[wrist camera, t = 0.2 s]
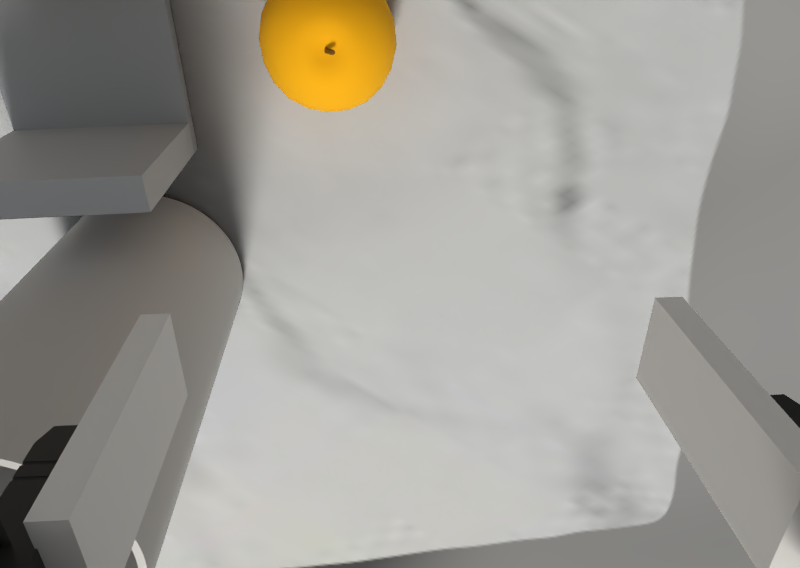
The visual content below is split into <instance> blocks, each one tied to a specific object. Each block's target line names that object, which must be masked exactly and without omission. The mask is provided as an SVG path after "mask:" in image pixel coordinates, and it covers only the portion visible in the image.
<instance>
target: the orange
mask: <svg viewBox="0 0 800 568" xmlns="http://www.w3.org/2000/svg"><path fill="white" fill-rule="evenodd" d="M259 42H260V47H261V51H262V56H263V61H264V64H265V66H266V68H267V70H268V72H269V74H270V76H271V78H272V80H273V81H274V83H275V84H276V85H277V86H278V87H279V88H280V89H281V90H282V91H283V93H284V94H285V95H286V96H287V97H288V98H289V99H291V100H293V101H295V102H297V103H299V104H301V105H303V106H305V107H307V108H309V109H315V110H320V111H325V112H333V111H342V110H349V109H351V108H353V107H356V106H358V105H360V104H363V103H365V102H367V101H368V100H369V99H370V98H371V97H372V96H373V95H374V94H375V93H376V92H377V91H378V90H379V89H380V88H381V87H382V85H383V83H384V81H385V80H386V78H387V76H388V74H389V72H390V70H391V67H392V63H393V58H394V54H395V49H396V35H395V25H394V19H393V16H392V14H391V11H390V9H389V6H388V4H387V1H386V0H267V2H266V4H265V6H264V9H263V11H262V15H261V24H260V33H259Z"/></svg>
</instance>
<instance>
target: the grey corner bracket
mask: <svg viewBox="0 0 800 568" xmlns="http://www.w3.org/2000/svg"><path fill="white" fill-rule="evenodd" d="M0 90H1V93H2V96H3V99H4V102H5V105H6V108H7V111H8V114H9V117H10V120H11V123H12V126H13V129H14V131H12V132H10V133H9V134H7V135H5V136H3V137H2V138H0V219H19V218H40V217H61V216H82V215H103V214H124V213H145V212H151V211H152V210H153V208H154V207H155V206H156V204H157V203H158V202H159V200H160V199H161V198H162V196H163V195H164V194H165V192H166V191H167V190H168V188H169V187H170V185H171V184H172V183H173V181H174V180H175V179H176V177H177V176H178V175H179V173H180V172H181V171H182V169H183V168H184V167H185V165H186V164H187V163H188V161H189V160H190V159H191V157H192V156H193V155H194V153H195V152H196V150H197V149H198V147H197V142H196V137H195V132H194V126H193V121H192V116H191V111H190V106H189V100H188V95H187V90H186V85H185V79H184V74H183V69H182V64H181V58H180V53H179V48H178V43H177V37H176V32H175V27H174V22H173V16H172V11H171V6H170V1H169V0H0Z"/></svg>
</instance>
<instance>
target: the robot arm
mask: <svg viewBox="0 0 800 568" xmlns="http://www.w3.org/2000/svg"><path fill="white" fill-rule="evenodd" d="M636 378H637V379H638V381H639V383H640V384H641V386H642V387H643V389H644V390H645V392H646V394H647V395H648V397H649V398H650V400H651V402H652V403H653V405H654V406H655V408H656V410H657V411H658V413H659V414H660V416H661V417H662V419H663V421H664V422H665V424H666V425H667V427H668V429H669V430H670V432H671V433H672V435H673V437H674V438H675V440H676V441H677V443H678V444H679V446H680V448H681V449H682V451H683V452H684V454H685V455H686V457H687V459H688V460H689V462H690V464H691V465H692V466H693V468H694V470H695V471H696V473H697V475H698V476H699V477H700V479H701V481H702V483H703V484H704V486H705V487H706V489H707V490H708V492H709V494H710V495H711V497H712V498H713V500H714V502H715V503H716V505H717V506H718V508H719V510H720V511H721V513H722V514H723V516H724V518H725V519H726V521H727V522H728V524H729V525H730V527H731V529H732V530H733V531H734V533H735V535H736V537H737V538H738V540H739V541H740V543H741V545H742V546H743V547H744V549H745V551H746V553H747V554H748V556H749V557H750V559H751V560H752V562H753V564H754V565H755V567H756V568H800V404H798V403H797V402H795V401H793V400H792V399H790V398H789V397H787V396H785V395H784V394H782V395H769V394H768V392H767V391H766V390H765V389H764V388H763V387H762V386H761V385H760V384H759V382H758V381H757V380H756V379H755V378H754V377H753V376H752V374H751V373H750V372H749V371H748V370H747V369H746V368H745V367H744V366H743V365H742V363H741V362H740V361H739V360H738V359H737V358H736V357H735V356H734V354H733V353H732V352H731V351H730V350H729V349H728V348H727V347H726V345H725V344H724V343H723V342H722V341H721V340H720V339H719V338H718V336H717V335H716V334H715V333H714V332H713V331H712V330H711V329H710V328H709V327H708V325H707V324H706V323H705V322H704V321H703V320H702V319H701V318H700V316H699V315H698V314H697V313H696V312H695V311H694V310H693V308H692V307H691V306H690V305H689V304H688V303H687V302H686V301H685V300H684V298H683V297H666V298H655V300H654V305H653V309H652V313H651V317H650V322H649V326H648V330H647V334H646V339H645V343H644V347H643V351H642V356H641V360H640V364H639V368H638V373H637V377H636ZM187 396H188V394H187V389H186V385H185V380H184V375H183V371H182V366H181V362H180V357H179V352H178V348H177V343H176V338H175V334H174V329H173V325H172V320H171V315H170V314H141V315H140V316H139V318H138V320H137V322H136V323H135V325H134V327H133V329H132V331H131V332H130V334H129V336H128V338H127V339H126V341H125V343H124V345H123V346H122V348H121V350H120V352H119V353H118V355H117V357H116V359H115V361H114V362H113V364H112V366H111V368H110V369H109V371H108V373H107V375H106V376H105V378H104V380H103V382H102V384H101V385H100V387H99V389H98V391H97V392H96V394H95V396H94V398H93V399H92V401H91V403H90V405H89V406H88V408H87V410H86V412H85V414H84V415H83V417H82V419H81V421H80V422H79V424H78V425H65V426H54V427H52V428H51V429H50V430H49V431H48V432H47V433H45V434H44V435H43V436H42V437H41V438H40V439H38V440H37V441H36V442H35V443H34V444H33V446H32V447H31V449H30V451H29V452H28V454H27V455H26V457H25V458H24V460H23V462H22V466H19V468H18V469H17V471H16V473H15V474H14V476H13V480H12V481H10V482H9V484H8V485H7V487H6V488H5V490H4V492H3V493H2V495H1V496H0V568H125V566H126V563H127V560H128V557H129V555H130V552H131V549H132V546H133V544H134V541H135V538H136V535H137V533H138V530H139V527H140V525H141V522H142V519H143V516H144V514H145V511H146V508H147V505H148V503H149V500H150V497H151V494H152V492H153V489H154V486H155V483H156V481H157V478H158V475H159V473H160V470H161V467H162V464H163V462H164V459H165V456H166V453H167V451H168V448H169V445H170V442H171V440H172V437H173V434H174V431H175V429H176V426H177V423H178V421H179V418H180V415H181V412H182V410H183V407H184V404H185V401H186V399H187Z"/></svg>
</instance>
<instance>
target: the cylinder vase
mask: <svg viewBox="0 0 800 568" xmlns="http://www.w3.org/2000/svg"><path fill="white" fill-rule="evenodd" d="M242 290H243V274H242V268H241V264H240V260H239V257H238V255H237V252H236V250H235V248H234V246H233V245H232V243H231V241H230V240H229V238H228V237H227V236H226V234H225V233H224V232H223V231H222V230H221V229H220V227H219V226H218V225H217V224H215V223H214V222H213V221H212V220H211V219H210V218H208V217H207V216H206V215H204V214H203V213H201V212H200V211H198V210H197V209H195V208H193V207H191V206H189V205H187V204H185V203H182V202H180V201H177V200H174V199H171V198H167V197H162V198H161V199H160V200H159V202H158V203H157V204H156V206H155V207H154V208H153V210H152V211H151V212H145V213H124V214H103V215H84V216H83V217H82V218H81V219H80V220H79V221H78V222H77V223H76V224H75V225H74V226H73V227H72V228H71V229H70V230H69V231H68V232H67V233H66V234H65V235H64V236H63V237H62V238H61V239H60V240H59V241H58V242H57V243H56V244H55V246H54V247H53V248H52V249H51V250H50V251H49V252H48V253H47V254H46V255H45V256H44V257H43V258H42V259H41V260H40V261H39V262H38V263H37V264H36V265H35V266H34V267H33V268H32V269H31V270H30V271H29V272H28V273H27V274H26V275H25V276H24V277H23V278H22V279H21V280H20V281H19V283H18V284H17V285H16V286H15V287H14V288H13V289H12V290H11V291H10V292H9V293H8V294H7V295H6V296H5V297H4V298H3V299H2V300H1V301H0V496H1V495H2V493H3V492H4V490H5V488H6V487H7V485H8V484H9V482H10V481H12V480H13V476H14V474H15V473H16V471H17V469H18V468H19V466H22V462H23V460H24V458H25V457H26V455H27V454H28V452H29V451H30V449H31V447H32V446H33V444H34V443H35V442H36V441H37V440H38V439H40V438H41V437H42V436H43V435H44V434H45V433H47V432H48V431H49V430H50V429H51V428H52V427H54V426H65V425H78V424H79V422H80V421H81V419H82V417H83V415H84V414H85V412H86V410H87V408H88V406H89V405H90V403H91V401H92V399H93V398H94V396H95V394H96V392H97V391H98V389H99V387H100V385H101V384H102V382H103V380H104V378H105V376H106V375H107V373H108V371H109V369H110V368H111V366H112V364H113V362H114V361H115V359H116V357H117V355H118V353H119V352H120V350H121V348H122V346H123V345H124V343H125V341H126V339H127V338H128V336H129V334H130V332H131V331H132V329H133V327H134V325H135V323H136V322H137V320H138V318H139V316H140V315H141V314H170V315H171V320H172V325H173V329H174V334H175V338H176V343H177V348H178V352H179V357H180V362H181V366H182V371H183V375H184V380H185V385H186V389H187V394H188V396H187V399H186V401H185V404H184V407H183V410H182V412H181V415H180V418H179V421H178V423H177V426H176V429H175V431H174V434H173V437H172V440H171V442H170V445H169V448H168V451H167V453H166V456H165V459H164V462H163V464H162V467H161V470H160V473H159V475H158V478H157V481H156V483H155V486H154V489H153V492H152V494H151V497H150V500H149V503H148V505H147V508H146V511H145V514H144V516H143V519H142V522H141V525H140V527H139V530H138V533H137V535H136V538H135V541H134V544H133V546H132V549H131V552H130V555H129V557H128V560H127V563H126V566H125V568H155V566H156V563H157V560H158V557H159V554H160V551H161V547H162V544H163V541H164V538H165V535H166V532H167V529H168V525H169V522H170V519H171V516H172V513H173V510H174V507H175V503H176V500H177V497H178V494H179V491H180V488H181V485H182V482H183V478H184V475H185V472H186V469H187V466H188V463H189V460H190V456H191V453H192V450H193V447H194V444H195V441H196V438H197V434H198V431H199V428H200V425H201V422H202V419H203V416H204V412H205V409H206V406H207V403H208V400H209V397H210V394H211V390H212V387H213V384H214V381H215V378H216V375H217V372H218V369H219V365H220V362H221V359H222V356H223V353H224V350H225V347H226V343H227V340H228V337H229V334H230V331H231V328H232V325H233V321H234V318H235V315H236V312H237V309H238V306H239V303H240V299H241V295H242Z"/></svg>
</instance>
